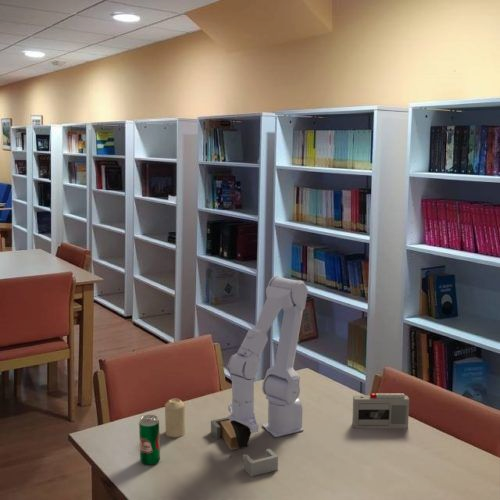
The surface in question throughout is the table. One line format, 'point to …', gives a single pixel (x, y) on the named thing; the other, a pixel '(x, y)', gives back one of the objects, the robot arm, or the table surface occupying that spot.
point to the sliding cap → (261, 464)
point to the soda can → (149, 440)
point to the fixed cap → (217, 427)
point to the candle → (175, 418)
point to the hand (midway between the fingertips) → (242, 446)
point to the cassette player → (380, 410)
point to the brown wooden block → (229, 434)
